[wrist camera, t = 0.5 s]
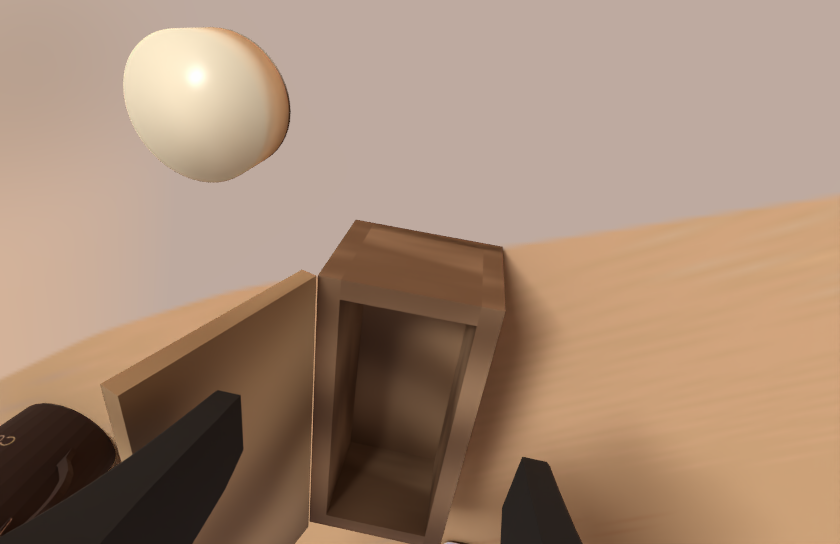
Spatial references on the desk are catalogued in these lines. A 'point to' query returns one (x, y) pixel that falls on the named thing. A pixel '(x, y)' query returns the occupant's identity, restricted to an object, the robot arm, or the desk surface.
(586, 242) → the desk surface
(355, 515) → the walnut box
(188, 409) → the lid
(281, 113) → the cream domed disc
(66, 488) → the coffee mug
